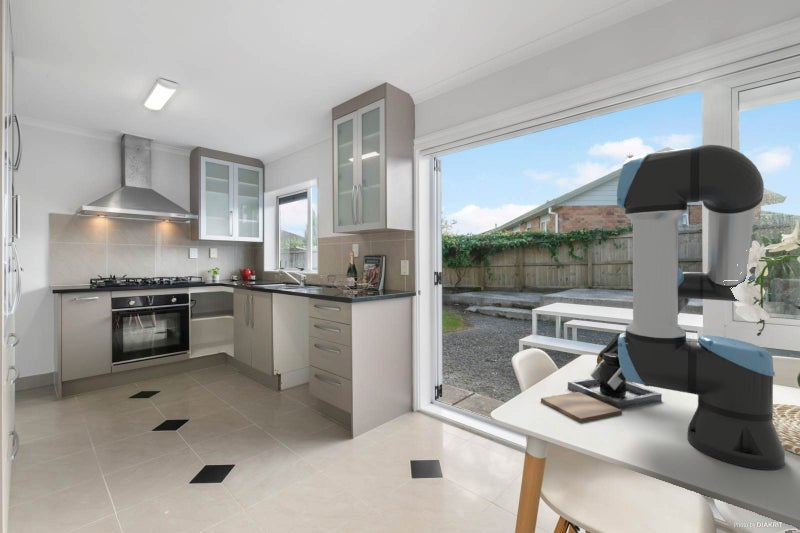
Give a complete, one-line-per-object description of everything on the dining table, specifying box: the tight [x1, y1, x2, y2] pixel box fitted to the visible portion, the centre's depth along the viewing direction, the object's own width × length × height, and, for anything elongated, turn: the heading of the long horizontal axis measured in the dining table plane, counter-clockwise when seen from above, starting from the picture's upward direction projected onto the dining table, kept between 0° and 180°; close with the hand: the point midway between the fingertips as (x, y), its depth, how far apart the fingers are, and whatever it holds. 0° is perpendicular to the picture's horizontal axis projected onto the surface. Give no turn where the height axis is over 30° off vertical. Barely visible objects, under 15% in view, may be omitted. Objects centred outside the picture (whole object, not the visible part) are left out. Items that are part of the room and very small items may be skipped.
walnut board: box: [540, 391, 623, 423], centre depth 98 cm, size 14×14×1 cm
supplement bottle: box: [599, 353, 627, 399], centre depth 108 cm, size 7×7×12 cm
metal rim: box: [567, 377, 663, 410], centre depth 108 cm, size 17×17×2 cm
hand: (601, 381), depth 107 cm, fingers closed on supplement bottle, 7 cm apart
